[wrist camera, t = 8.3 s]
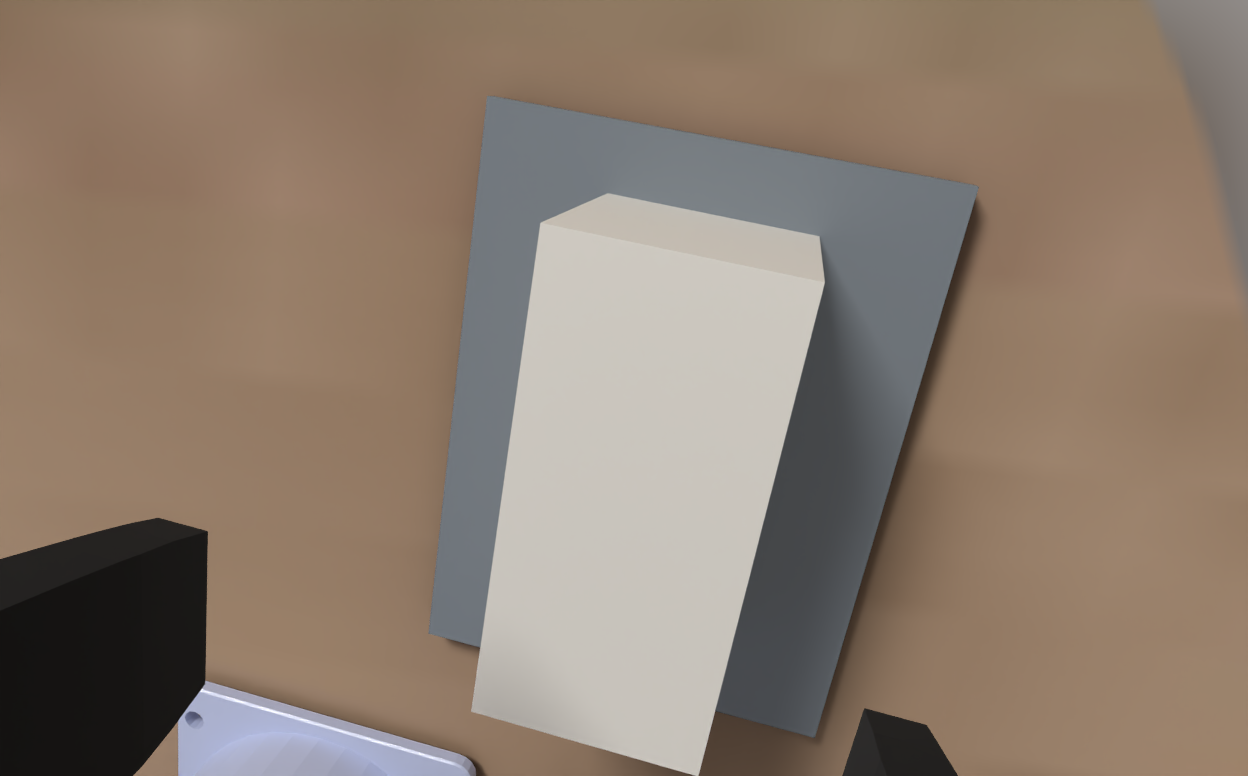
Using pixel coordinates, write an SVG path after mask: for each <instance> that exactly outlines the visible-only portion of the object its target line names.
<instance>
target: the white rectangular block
mask: <svg viewBox="0 0 1248 776" xmlns="http://www.w3.org/2000/svg"><path fill="white" fill-rule="evenodd" d="M824 284H825V279H824V271H823V262H822V254H821V245H820V237H819V236H816V235H811V234H806V233H801V232H796V231H791V230H786V229H781V228H776V227H771V226H766V225H762V224H757V223H752V222H747V221H742V220H737V219H732V218H727V217H722V216H717V215H712V214H707V213H703V212H698V211H693V210H688V209H683V208H678V207H673V206H668V205H663V204H658V203H653V202H648V201H644V200H639V199H634V198H629V197H624V196H619V195H614V194H609V193H607V194H605V195H603V196H600V197H598V198H596V199H593V200H591V201H589V202H587V203H584V204H582V205H580V206H577V207H575V208H573V209H571V210H568V211H566V212H564V213H562V214H559V215H557V216H555V217H552V218H550V219H548V220H546V221H543V222H541V223H540V229H539V237H538V244H537V251H536V258H535V265H534V272H533V279H532V286H531V293H530V300H529V307H528V314H527V321H526V328H525V336H524V343H523V350H522V357H521V364H520V371H519V378H518V385H517V392H516V399H515V406H514V413H513V420H512V428H511V435H510V442H509V449H508V456H507V463H506V470H505V477H504V484H503V491H502V498H501V505H500V512H499V520H498V527H497V534H496V541H495V548H494V555H493V562H492V569H491V576H490V583H489V590H488V597H487V604H486V611H485V619H484V626H483V633H482V640H481V647H480V654H479V661H478V668H477V675H476V682H475V689H474V696H473V703H472V710H471V711H472V712H475V713H479V714H482V715H485V716H489V717H492V718H496V719H499V720H503V721H506V722H510V723H513V724H517V725H520V726H524V727H527V728H531V729H534V730H538V731H541V732H545V733H548V734H552V735H555V736H559V737H562V738H566V739H569V740H573V741H576V742H580V743H583V744H587V745H590V746H594V747H597V748H600V749H604V750H607V751H611V752H614V753H618V754H621V755H625V756H628V757H632V758H635V759H639V760H642V761H646V762H649V763H653V764H656V765H660V766H663V767H667V768H670V769H674V770H677V771H681V772H684V773H688V774H691V775H695V776H699V772H700V768H701V764H702V760H703V756H704V752H705V749H706V745H707V741H708V737H709V733H710V729H711V725H712V721H713V717H714V713H715V709H716V706H717V702H718V698H719V694H720V690H721V686H722V682H723V678H724V674H725V670H726V667H727V663H728V659H729V655H730V651H731V647H732V643H733V639H734V635H735V631H736V628H737V624H738V620H739V616H740V612H741V608H742V604H743V600H744V596H745V592H746V588H747V585H748V581H749V577H750V573H751V569H752V565H753V561H754V557H755V553H756V549H757V546H758V542H759V538H760V534H761V530H762V526H763V522H764V518H765V514H766V510H767V507H768V503H769V499H770V495H771V491H772V487H773V483H774V479H775V475H776V471H777V467H778V464H779V460H780V456H781V452H782V448H783V444H784V440H785V436H786V432H787V428H788V425H789V421H790V417H791V413H792V409H793V405H794V401H795V397H796V393H797V389H798V386H799V382H800V378H801V374H802V370H803V366H804V362H805V358H806V354H807V350H808V346H809V343H810V339H811V335H812V331H813V327H814V323H815V319H816V315H817V311H818V307H819V304H820V300H821V296H822V292H823V288H824Z"/></svg>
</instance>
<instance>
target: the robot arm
mask: <svg viewBox="0 0 1248 776" xmlns="http://www.w3.org/2000/svg"><path fill="white" fill-rule="evenodd" d="M207 544H208V531H205V530H201V529H197V528H194V527H190V526H186V525H183V524H179V523H175V522H171V521H168V520H164V519H160V518H155V519H150V520H145V521H140V522H135V523H131V524H126V525H122V526H118V527H114V528H110V529H106V530H102V531H99V532H95V533H91V534H87V535H84V536H80V537H77V538H73V539H69V540H66V541H62V542H59V543H55V544H52V545H48V546H45V547H41V548H38V549H34V550H31V551H27V552H24V553H20V554H17V555H13V556H10V557H6V558H3V559H0V776H133V775H134V774H135V773H136V772H137V771H138V770H139V769H140V768H141V767H142V766H143V765H144V763H145V762H146V761H147V760H148V758H149V757H150V756H151V755H152V753H153V752H154V751H155V750H156V748H157V747H158V746H159V745H160V743H161V742H162V741H163V739H164V738H165V737H166V736H167V734H168V733H169V732H170V731H171V729H172V728H173V727H174V726H175V724H176V723H177V722H178V776H476V769H475V767H474V765H473V763H472V762H471V761H470V760H469V759H468V758H467V757H465V756H463V755H461V754H458V753H454V752H451V751H447V750H444V749H440V748H437V747H433V746H430V745H426V744H423V743H419V742H416V741H413V740H409V739H406V738H402V737H399V736H395V735H392V734H388V733H385V732H381V731H378V730H374V729H371V728H367V727H364V726H360V725H357V724H354V723H350V722H347V721H343V720H340V719H336V718H333V717H329V716H326V715H322V714H319V713H315V712H312V711H308V710H305V709H302V708H298V707H295V706H291V705H288V704H284V703H281V702H277V701H274V700H270V699H267V698H263V697H260V696H256V695H253V694H249V693H246V692H243V691H239V690H236V689H232V688H229V687H225V686H222V685H218V684H215V683H211V682H208V681H205V666H206V605H207ZM197 713H198V714H199V715H200V716H201V717H200V716H199V715H198V714H197ZM843 776H958V775H957V773H956V772H955V770H954V768H953V767H952V765H951V764H950V762H949V760H948V759H947V757H946V755H945V754H944V752H943V751H942V749H941V747H940V746H939V744H938V742H937V741H936V739H935V738H934V736H933V734H932V733H931V731H930V730H929V728H928V727H927V725H924V724H921V723H917V722H913V721H910V720H906V719H902V718H898V717H895V716H891V715H887V714H884V713H880V712H876V711H872V710H869V709H865V708H864V711H863V714H862V717H861V720H860V723H859V727H858V730H857V733H856V736H855V739H854V742H853V745H852V748H851V751H850V754H849V757H848V760H847V763H846V766H845V770H844V773H843Z"/></svg>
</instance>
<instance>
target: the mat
mask: <svg viewBox="0 0 1248 776" xmlns="http://www.w3.org/2000/svg"><path fill="white" fill-rule="evenodd" d="M978 188H979V187H978V186H976V185H972V184H967V183H961V182H956V181H950V180H945V179H940V178H934V177H929V176H923V175H918V174H913V173H907V172H902V171H896V170H891V169H885V168H880V167H875V166H869V165H864V164H858V163H853V162H848V161H842V160H837V159H831V158H826V157H821V156H815V155H810V154H804V153H799V152H793V151H788V150H783V149H777V148H772V147H766V146H761V145H756V144H750V143H745V142H739V141H734V140H728V139H723V138H718V137H712V136H707V135H701V134H696V133H691V132H685V131H680V130H674V129H669V128H663V127H658V126H653V125H647V124H642V123H636V122H631V121H626V120H620V119H615V118H609V117H604V116H599V115H593V114H588V113H582V112H577V111H571V110H566V109H561V108H555V107H550V106H544V105H539V104H534V103H528V102H523V101H517V100H512V99H506V98H501V97H496V96H487V103H486V112H485V121H484V130H483V139H482V149H481V158H480V167H479V176H478V185H477V194H476V204H475V213H474V222H473V231H472V240H471V249H470V258H469V268H468V277H467V286H466V295H465V304H464V313H463V323H462V332H461V341H460V350H459V359H458V368H457V378H456V387H455V396H454V405H453V414H452V423H451V433H450V442H449V451H448V460H447V469H446V478H445V488H444V497H443V506H442V515H441V524H440V533H439V543H438V552H437V561H436V570H435V579H434V588H433V598H432V607H431V616H430V625H429V634H432V635H436V636H440V637H444V638H447V639H451V640H455V641H458V642H462V643H466V644H469V645H473V646H477V647H481V640H482V633H483V626H484V619H485V611H486V604H487V597H488V590H489V583H490V576H491V569H492V562H493V555H494V548H495V541H496V534H497V527H498V520H499V512H500V505H501V498H502V491H503V484H504V477H505V470H506V463H507V456H508V449H509V442H510V435H511V428H512V420H513V413H514V406H515V399H516V392H517V385H518V378H519V371H520V364H521V357H522V350H523V343H524V336H525V328H526V321H527V314H528V307H529V300H530V293H531V286H532V279H533V272H534V265H535V258H536V251H537V244H538V237H539V229H540V223H541V222H543V221H546V220H548V219H550V218H552V217H555V216H557V215H559V214H562V213H564V212H566V211H568V210H571V209H573V208H575V207H577V206H580V205H582V204H584V203H587V202H589V201H591V200H593V199H596V198H598V197H600V196H603V195H605V194H607V193H609V194H614V195H619V196H624V197H629V198H634V199H639V200H644V201H648V202H653V203H658V204H663V205H668V206H673V207H678V208H683V209H688V210H693V211H698V212H703V213H707V214H712V215H717V216H722V217H727V218H732V219H737V220H742V221H747V222H752V223H757V224H762V225H766V226H771V227H776V228H781V229H786V230H791V231H796V232H801V233H806V234H811V235H816V236H819V237H820V245H821V254H822V262H823V271H824V279H825V284H824V288H823V292H822V296H821V300H820V304H819V307H818V311H817V315H816V319H815V323H814V327H813V331H812V335H811V339H810V343H809V346H808V350H807V354H806V358H805V362H804V366H803V370H802V374H801V378H800V382H799V386H798V389H797V393H796V397H795V401H794V405H793V409H792V413H791V417H790V421H789V425H788V428H787V432H786V436H785V440H784V444H783V448H782V452H781V456H780V460H779V464H778V467H777V471H776V475H775V479H774V483H773V487H772V491H771V495H770V499H769V503H768V507H767V510H766V514H765V518H764V522H763V526H762V530H761V534H760V538H759V542H758V546H757V549H756V553H755V557H754V561H753V565H752V569H751V573H750V577H749V581H748V585H747V588H746V592H745V596H744V600H743V604H742V608H741V612H740V616H739V620H738V624H737V628H736V631H735V635H734V639H733V643H732V647H731V651H730V655H729V659H728V663H727V667H726V670H725V674H724V678H723V682H722V686H721V690H720V694H719V698H718V702H717V706H716V709H715V711H717V712H721V713H724V714H728V715H732V716H735V717H739V718H743V719H746V720H750V721H754V722H758V723H761V724H765V725H769V726H772V727H776V728H780V729H783V730H787V731H791V732H795V733H798V734H802V735H806V736H809V737H813V738H815V735H816V732H817V728H818V725H819V722H820V718H821V715H822V712H823V708H824V705H825V701H826V698H827V695H828V691H829V688H830V685H831V681H832V678H833V675H834V671H835V668H836V665H837V661H838V658H839V655H840V651H841V648H842V644H843V641H844V638H845V634H846V631H847V628H848V624H849V621H850V618H851V614H852V611H853V608H854V604H855V601H856V597H857V594H858V591H859V587H860V584H861V581H862V577H863V574H864V571H865V567H866V564H867V561H868V557H869V554H870V550H871V547H872V544H873V540H874V537H875V534H876V530H877V527H878V524H879V520H880V517H881V514H882V510H883V507H884V503H885V500H886V497H887V493H888V490H889V487H890V483H891V480H892V477H893V473H894V470H895V467H896V463H897V460H898V456H899V453H900V450H901V446H902V443H903V440H904V436H905V433H906V430H907V426H908V423H909V420H910V416H911V413H912V409H913V406H914V403H915V399H916V396H917V393H918V389H919V386H920V383H921V379H922V376H923V373H924V369H925V366H926V363H927V359H928V356H929V352H930V349H931V346H932V342H933V339H934V336H935V332H936V329H937V326H938V322H939V319H940V316H941V312H942V309H943V305H944V302H945V299H946V295H947V292H948V289H949V285H950V282H951V279H952V275H953V272H954V269H955V265H956V262H957V258H958V255H959V252H960V248H961V245H962V242H963V238H964V235H965V232H966V228H967V225H968V222H969V218H970V215H971V211H972V208H973V205H974V201H975V198H976V195H977V191H978Z"/></svg>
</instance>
